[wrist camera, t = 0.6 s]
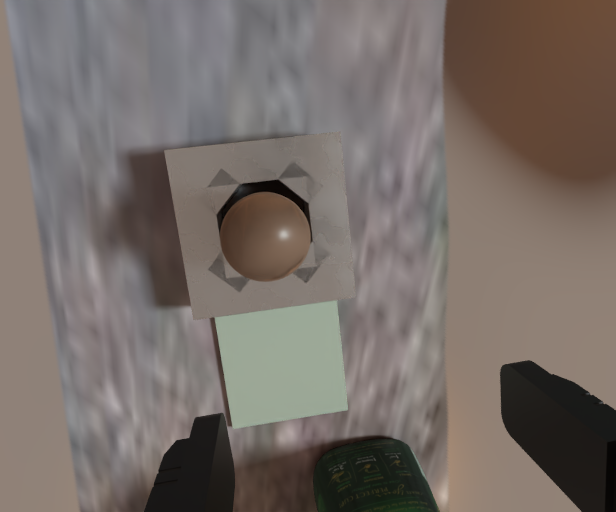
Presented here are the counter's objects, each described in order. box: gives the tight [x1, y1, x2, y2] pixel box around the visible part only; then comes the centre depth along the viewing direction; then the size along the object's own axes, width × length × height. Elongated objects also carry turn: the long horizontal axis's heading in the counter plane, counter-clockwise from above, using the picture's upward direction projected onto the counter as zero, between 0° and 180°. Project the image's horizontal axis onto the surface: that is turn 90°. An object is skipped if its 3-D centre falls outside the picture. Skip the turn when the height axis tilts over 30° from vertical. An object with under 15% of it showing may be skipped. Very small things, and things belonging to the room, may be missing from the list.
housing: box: [164, 132, 356, 320], centre depth 31 cm, size 12×12×4 cm
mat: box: [215, 300, 348, 429], centre depth 34 cm, size 10×10×1 cm
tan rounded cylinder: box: [220, 191, 311, 282], centre depth 28 cm, size 5×5×9 cm
